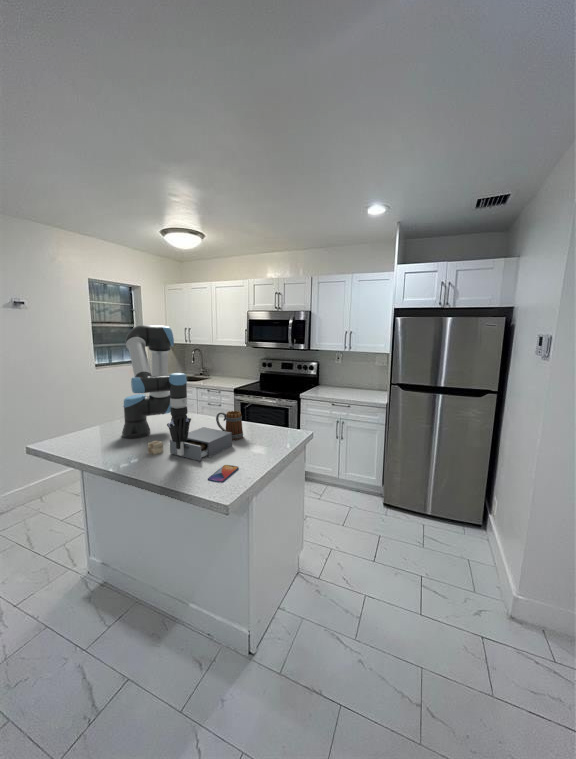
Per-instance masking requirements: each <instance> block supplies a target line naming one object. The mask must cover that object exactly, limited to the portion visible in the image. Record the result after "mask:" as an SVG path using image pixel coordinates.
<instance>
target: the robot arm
mask: <svg viewBox="0 0 576 759" xmlns="http://www.w3.org/2000/svg"><path fill="white" fill-rule="evenodd" d="M174 341H175V340H174V334H173V330H172V329H171V327H170V326H168V325H161V324H160V325H143V324H141V325H137V326H135V327H133V328H131V330H130V331H129V332H128V333H127V335H126V337H125V347H126V348H127V350H128V351H129V357H130V361H131V365H132V366H131V367H132V371H133V376H134V377H131V380H130V387H131V392H132V393H133V395H130V396H126V397H125V398H124V399H123V406H122V407H123V414H124V417H123V418H124V424H123V429H122V432H121V437H122V436H123V437H122V438H124V437H126V438H125V439H139V437H140V438H144V437H148V436H149V435H150V434H151V428H150V426H149V423H148V421H147V417H151V416H158V415H159V416H160V415H166V414H170V415H171V419H170V422H169V423H167V424H166V426H167V427H168V429H169V434H170V438H171V439H172V441H173V442H176V448H177V455H176V456H179V455H181V456H180V457H183V456H182V455H184V441H186V440H185V439H187V438H188V432H190V431H189V430H190V424H191V421H192V418H191V417H188V415H187V414H189V413H188V394H187V393H188V387H187V386H188V384H187V382H188V380H187V374H186V373H183V372H174V373H170V374H168V373H169V372H168V368H169V367H168V366H169V365H168V364H169V362H168V361H169V360H168V359H169V358H168V357H169V356H168V354H169V352H170V351H171V350H172V349H171V348H172V347H174V345H175V344H174V343H175V342H174ZM146 347H148V350H149V351H150V352H151V367H150V364H149V363H150V362H149V360H148V356H147V355H148V354H147V351H146ZM146 393H147V394H149V396H146Z"/></svg>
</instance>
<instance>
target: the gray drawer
mask: <svg viewBox="0 0 576 759" xmlns="http://www.w3.org/2000/svg"><path fill="white" fill-rule="evenodd" d="M191 442H192V441H191ZM169 453H170V454H171V455H175V456H180V457H183V458H187V459H190V460H195V461H199V462H200V461H202V459H203V458H204V457H206V455H208V444H206V449H205V450H204V451H202V452H201V446H199V445H194V444H190V443H189V442H188V443H185V442H184V455H182V456H181V455H177V448H176V442H173V441H172V438H171V439H169Z"/></svg>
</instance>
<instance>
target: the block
mask: <svg viewBox="0 0 576 759" xmlns="http://www.w3.org/2000/svg"><path fill="white" fill-rule="evenodd" d="M163 452H164V442H163V441H160V440H153V441H151V442H148V443H147V453H148V454H151V455H154V456H155V455H158V454H160V453H163Z"/></svg>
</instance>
